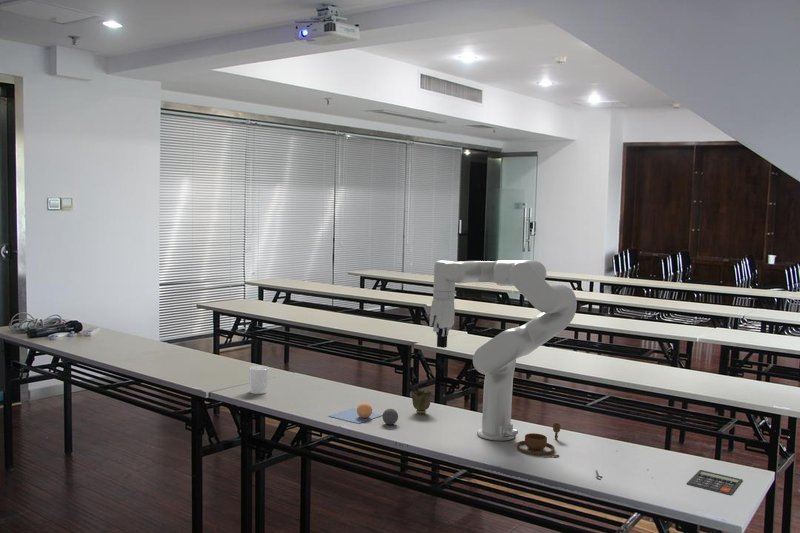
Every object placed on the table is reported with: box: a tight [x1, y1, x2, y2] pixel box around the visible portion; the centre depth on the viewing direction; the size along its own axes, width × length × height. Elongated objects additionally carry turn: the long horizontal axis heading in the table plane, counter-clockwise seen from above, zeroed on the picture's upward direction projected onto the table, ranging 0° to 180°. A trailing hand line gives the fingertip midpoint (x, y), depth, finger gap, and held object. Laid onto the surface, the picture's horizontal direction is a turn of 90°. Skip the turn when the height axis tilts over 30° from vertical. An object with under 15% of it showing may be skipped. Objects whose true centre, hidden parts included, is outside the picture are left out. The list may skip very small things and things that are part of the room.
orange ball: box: [356, 402, 373, 418], centre depth 248 cm, size 6×6×6 cm
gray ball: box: [381, 408, 399, 426], centre depth 242 cm, size 6×6×6 cm
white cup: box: [248, 365, 270, 395], centre depth 280 cm, size 8×8×10 cm
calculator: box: [686, 469, 743, 496], centre depth 197 cm, size 12×1×15 cm
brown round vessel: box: [411, 389, 433, 415], centre depth 257 cm, size 8×7×8 cm
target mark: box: [328, 407, 383, 425], centre depth 251 cm, size 14×14×1 cm
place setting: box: [516, 422, 561, 459], centre depth 222 cm, size 18×20×6 cm
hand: (441, 347), depth 245 cm, fingers closed
